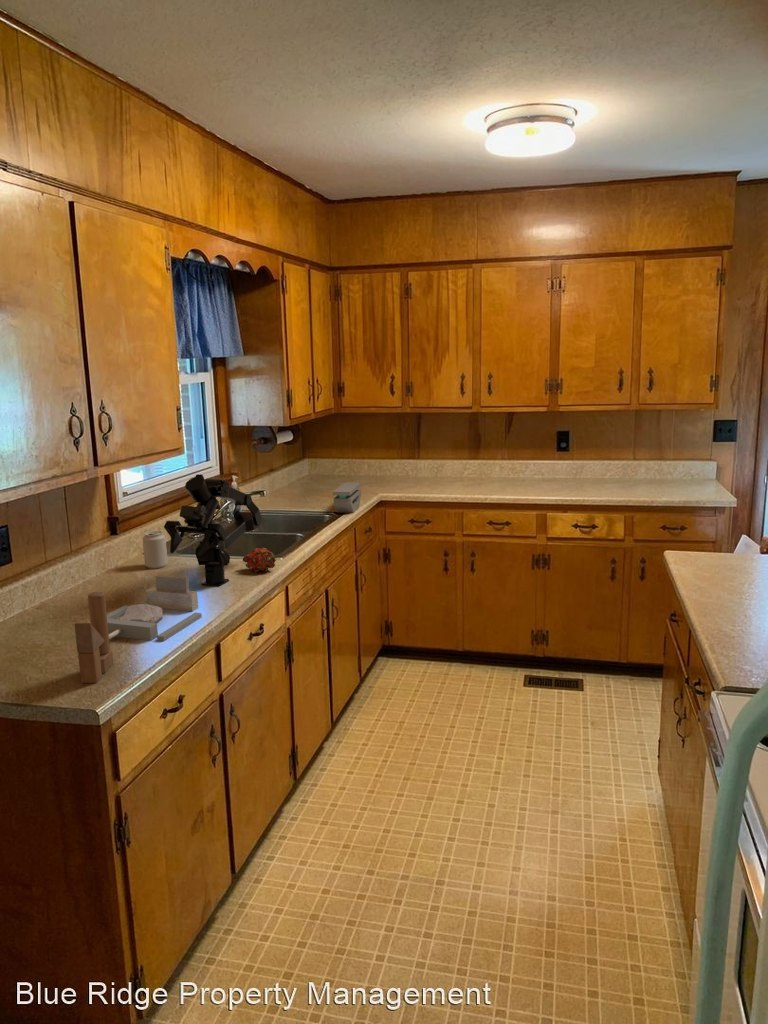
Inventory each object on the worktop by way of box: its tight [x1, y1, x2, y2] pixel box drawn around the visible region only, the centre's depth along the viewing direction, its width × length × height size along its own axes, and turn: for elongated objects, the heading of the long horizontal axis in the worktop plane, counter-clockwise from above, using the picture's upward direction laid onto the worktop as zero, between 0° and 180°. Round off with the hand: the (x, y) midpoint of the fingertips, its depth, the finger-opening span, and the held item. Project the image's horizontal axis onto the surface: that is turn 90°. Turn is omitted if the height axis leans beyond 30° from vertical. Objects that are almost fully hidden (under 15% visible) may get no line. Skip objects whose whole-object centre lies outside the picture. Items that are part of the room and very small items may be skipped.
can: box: [142, 530, 169, 570], centre depth 255 cm, size 8×8×12 cm
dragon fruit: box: [242, 547, 277, 573], centre depth 248 cm, size 8×8×12 cm
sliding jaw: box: [145, 574, 199, 613], centre depth 213 cm, size 3×15×9 cm, turn 72°
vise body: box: [107, 605, 203, 642], centre depth 195 cm, size 29×25×4 cm
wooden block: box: [73, 591, 114, 684], centre depth 168 cm, size 4×11×18 cm, turn 0°
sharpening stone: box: [332, 481, 362, 514], centre depth 342 cm, size 25×8×11 cm, turn 170°
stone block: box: [119, 603, 164, 624], centre depth 201 cm, size 12×5×10 cm
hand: (184, 553), depth 218 cm, fingers open, 9 cm apart
